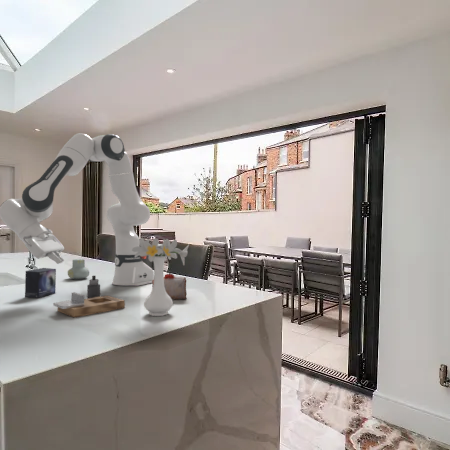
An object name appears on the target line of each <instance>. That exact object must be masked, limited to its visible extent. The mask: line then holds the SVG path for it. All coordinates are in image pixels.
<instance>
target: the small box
mask: <svg viewBox="0 0 450 450" xmlns="http://www.w3.org/2000/svg"><path fill="white" fill-rule="evenodd" d="M56 279H57V269H56V268H49V267H41V268H35V269H30V270H25V282H24V283H25V285H24V286H25V287H24V297H25V298H29V299H41V298H45V297H47V296H50V295H51V296H52V295H55V294H56V289H57V288H56V281H57V280H56Z"/></svg>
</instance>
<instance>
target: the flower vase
mask: <svg viewBox="0 0 450 450" xmlns="http://www.w3.org/2000/svg"><path fill="white" fill-rule="evenodd" d="M139 240H140V241H139V246H137V247H134V248H133V249H132V251H134V252H137V253H136V254H135V257H137V256H139V255H140V256H146V257H147V256H148V261H149V262H151V263H152V262H153V268H154V270H153V273H154V285H153V284H152V286H153V287H152V288H153V289H152V288H151V292H150V294H149V295H148V296H147V297H146V298H145V299H144V303H143V306H144V309H145V310H147V312H148V314H149V316H152V317H163V316H167V315H168V314H169V311H170V310H171V309H172V307H173V306H174V302H173V299H171V297H170V296H169V295H168V294H167V292H166V290H165V287H164V277H165V274H164V270H165V269H164V267H165V266H164V265H165V261H166V258H167V259H168V260H169V261H171V260H172V258H173V259H175V260H176V259H178V255H179V257H180V259H181V262H182V265H183V266H185V261H186V259H185V258H186V257H187V256H188V252H189V251H188V249H189V246H190V244H188V245H186V247H184V249H180V248H179V247H178V248H177V246H178V241H177V240H176V239H174V240H172V242H171V241H170V240H169V239H168V238H164V239H163V240H162V242H163V243H159V242H160V241H159V239H158V238H153V239H152V244H151V243H150V239H149V238H147V239H146V240H145V239H144V237H141V238H139Z"/></svg>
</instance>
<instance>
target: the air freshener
mask: <svg viewBox="0 0 450 450" xmlns="http://www.w3.org/2000/svg"><path fill="white" fill-rule="evenodd" d="M85 263H86V261H85V259H84V258H75V259H74V258H73V259H72V266H71V267H70V268H69V269H68V270H67V276H68V278H69V279H72V280H83V279H87V278H88V277H89V275H90V270H89V268H87V267H85V266H86V264H85Z"/></svg>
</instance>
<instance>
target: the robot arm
mask: <svg viewBox="0 0 450 450" xmlns="http://www.w3.org/2000/svg"><path fill="white" fill-rule="evenodd" d="M124 145H125V144H124V142H123V141H122V138H121V137H120V136H118V135H116V134H112V133H107V134H103V135H102V134H101V135H97V136H94V137H90V136H89V135H88V134H86V133H84V132H83V133H82V132H79V133H75V134H73V136H72V137H70V138H69V140H68V141H67V142H66V143H65V144H64V145H63V146H62V148H60V150H59V151H58V154H57V155H56V156H55V158H54V161H52V162H51V164H50V166H49V167H48V168H47V169H46V170H45V172H43V174H42V175H41V176H40V177H39V178H38V179H37V180H36V181H34V182H32V183H31V184H29V185H28V186H26V187H25V188H24V190H23V191H22V195H21V198H8V199H6V200H5V201H4V202H2V203H1V205H0V220H1V221H2V223H4V224H5V226H6V227H8V229H9V230H11V231H12V232H14V233H15V235H16V236H17V238H18V239H19V240H20V241H22V243H23V244H24V247H25V248H26V249H27V250H28V251H29V252H30V253H31V254H32V256H33V257H34V258H36V259H43V258H49V259H51V260H52V261H54V262H55V263H56V264H57V265H59V264H62V263H63V262H64V261H65V259H64V258H63V257H62V256H61V253H62V252H63V251H64V250H65V247H64V244H62V242H61V241H60V240H59V239H58V238H57V237H56V235H54V234H53V230H52V229H50V228H47V227H45V226H44V225H42V223H41V222H43V221H45V220H47V219H49V218H50V217H51V216H52V214H53V212H54V196H55V190H56V189H57V188H58V186H59V185H60V184H61V182H62V181H63V180H64V178H65V177H67V176H69V177H73V176H74V177H75V176H77V175H79V173H80V172H81V171H82V170H83V169H84V168H85V166H86V165H87V164H88V162H92V163H96V162H105V163H106V165H107V168H108V169H107V170H108V177H109V183H110V188H111V192H112V194H113V195H115V196H116V197H117V199H118V201H119V202H118V203H115V204H112V205H110V206H109V207H108V208H107V210H106V217H107V218H106V219H107V220H108V221H109V223H110V224H111V226H112V229H113V232H114V236H115V237H114V238H115V254H114V274H113V278H112V279H113V280H112V282H111V284H112V285H114V286H136V287H137V286H142V285H147V284H152V280H153V279H154V270H153V268H152V267H150V266H149V265H148V264H146V262H144V261H143V259H144V260H145V259H147V256H140V255H139V256H137V257H135V254H136V253H137V252H134V251H132V249H133V248H134V247H137V246H140V244H139V241H140V237H139V236H138V234H137V233H136V231H135V228H134V226H140V225H145V224H147V222H149V220H150V217H151V211H150V208H149V207H148V206H147V205H146V204H145V202H143V200H142V199H141V196H140V194H139V192H138V189H137V187H136V182H135V177H134V172H133V171H134V170H133V166H132V163H131V159H130V157H129V154H128V153H127V152H126V151H125V150H126V149H125V146H124Z"/></svg>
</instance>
